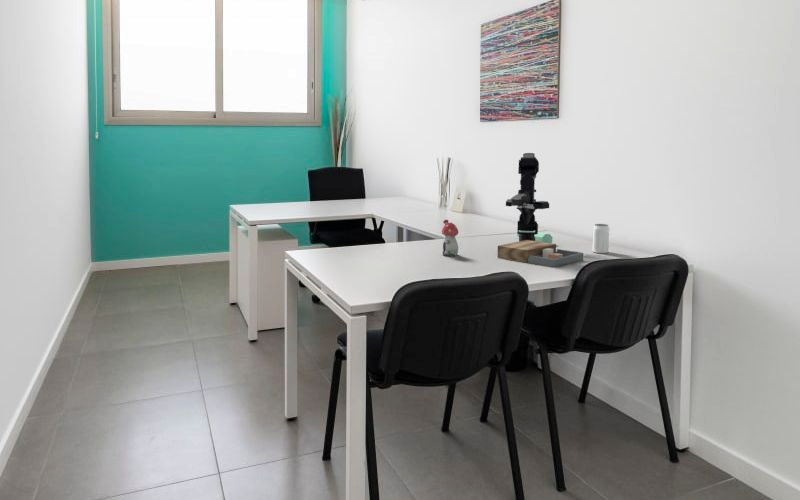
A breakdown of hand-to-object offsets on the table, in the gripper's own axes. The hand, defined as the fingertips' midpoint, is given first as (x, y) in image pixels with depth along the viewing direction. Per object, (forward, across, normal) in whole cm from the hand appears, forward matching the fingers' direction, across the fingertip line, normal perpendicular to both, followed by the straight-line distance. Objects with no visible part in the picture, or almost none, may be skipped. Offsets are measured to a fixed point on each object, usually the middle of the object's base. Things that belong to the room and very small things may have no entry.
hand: (526, 224), depth 259 cm
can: (+13, +20, +26) cm, 35 cm away
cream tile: (+11, +12, -4) cm, 17 cm away
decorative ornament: (+13, -22, -24) cm, 35 cm away
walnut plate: (+13, +4, -4) cm, 14 cm away
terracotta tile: (+10, +17, -4) cm, 20 cm away
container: (+14, -18, +30) cm, 38 cm away
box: (+13, +18, -4) cm, 22 cm away
